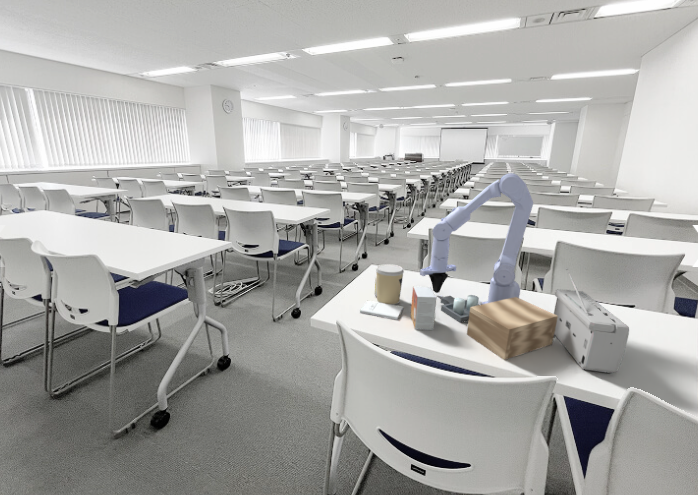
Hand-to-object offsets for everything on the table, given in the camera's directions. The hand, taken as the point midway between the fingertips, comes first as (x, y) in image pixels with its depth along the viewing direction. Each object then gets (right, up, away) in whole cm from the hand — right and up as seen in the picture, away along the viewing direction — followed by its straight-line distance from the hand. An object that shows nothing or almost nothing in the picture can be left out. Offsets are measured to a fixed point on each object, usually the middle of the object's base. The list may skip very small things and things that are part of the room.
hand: (436, 291), depth 119 cm
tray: (+5, -5, -10) cm, 12 cm away
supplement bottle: (-20, -2, 0) cm, 20 cm away
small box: (-10, -7, -19) cm, 22 cm away
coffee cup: (-18, -3, -4) cm, 19 cm away
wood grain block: (+13, -10, -27) cm, 32 cm away
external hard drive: (-21, -5, -11) cm, 24 cm away
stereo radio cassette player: (+29, -12, -32) cm, 45 cm away
